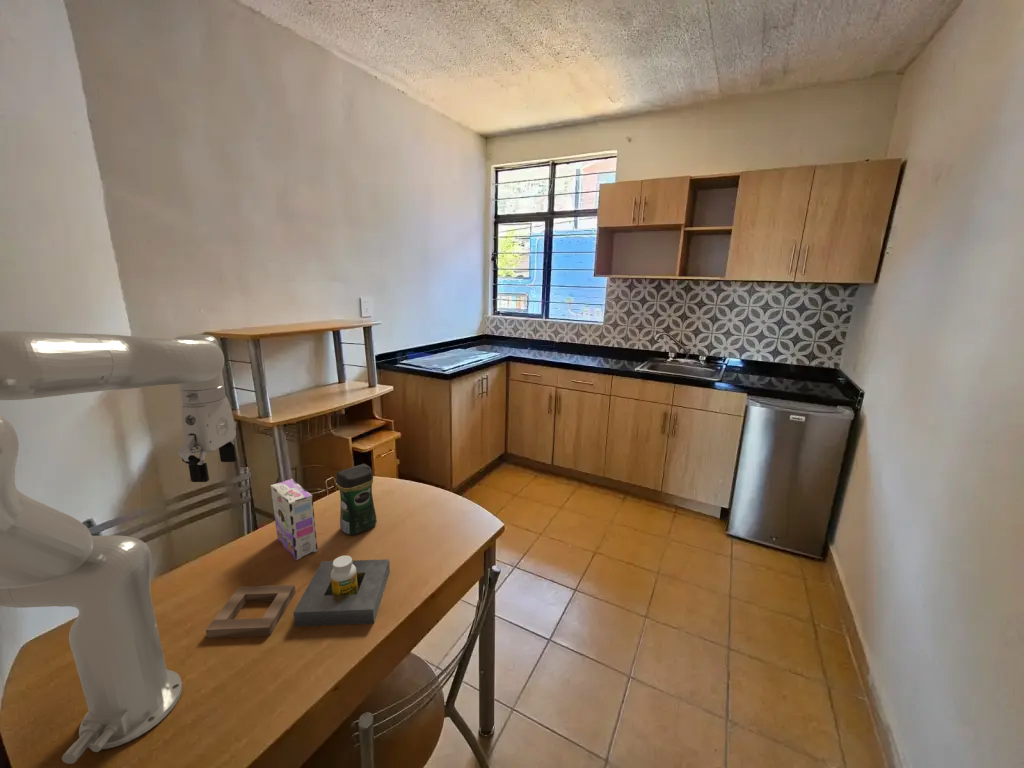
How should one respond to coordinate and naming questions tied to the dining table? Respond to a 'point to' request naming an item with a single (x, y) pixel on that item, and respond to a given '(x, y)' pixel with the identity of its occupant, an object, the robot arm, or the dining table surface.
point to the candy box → (294, 518)
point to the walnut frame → (253, 626)
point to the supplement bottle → (344, 576)
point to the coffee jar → (356, 499)
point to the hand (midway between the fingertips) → (215, 470)
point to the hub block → (343, 596)
